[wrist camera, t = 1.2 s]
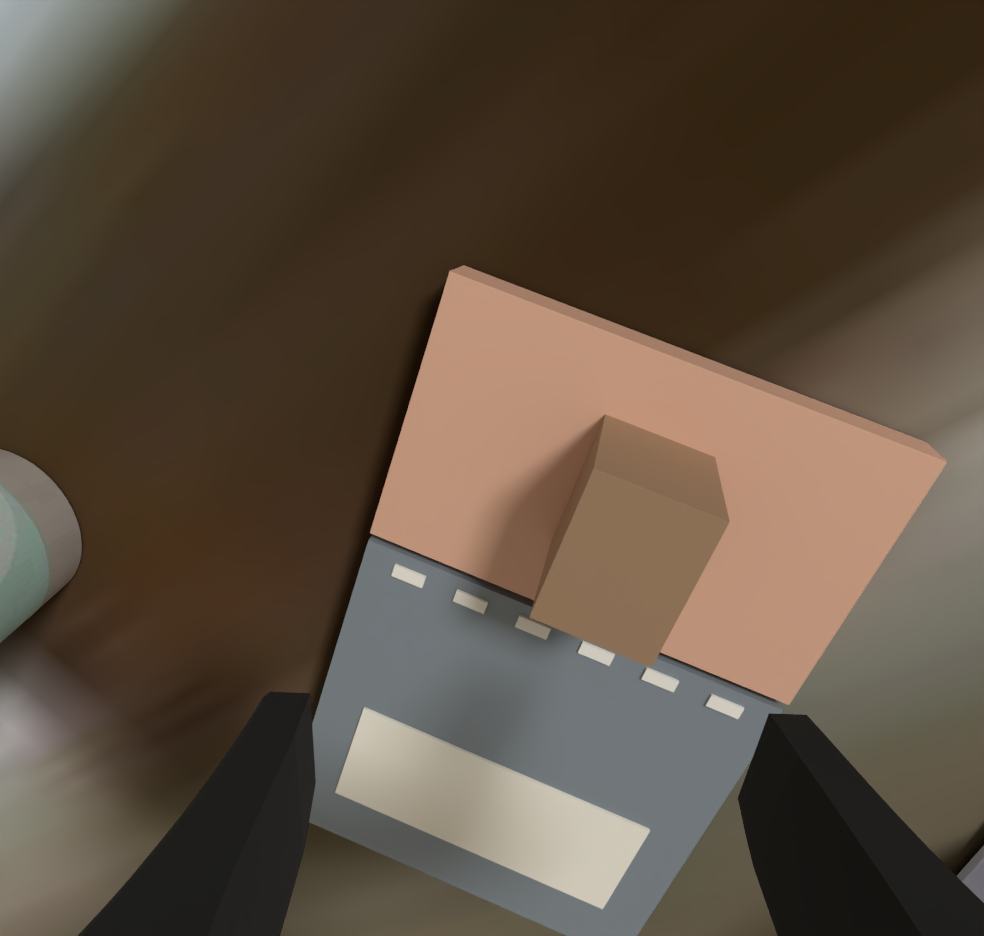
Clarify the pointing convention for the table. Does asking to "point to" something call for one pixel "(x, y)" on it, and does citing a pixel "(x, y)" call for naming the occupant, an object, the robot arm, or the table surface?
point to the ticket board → (519, 748)
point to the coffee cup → (32, 541)
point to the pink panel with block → (643, 487)
